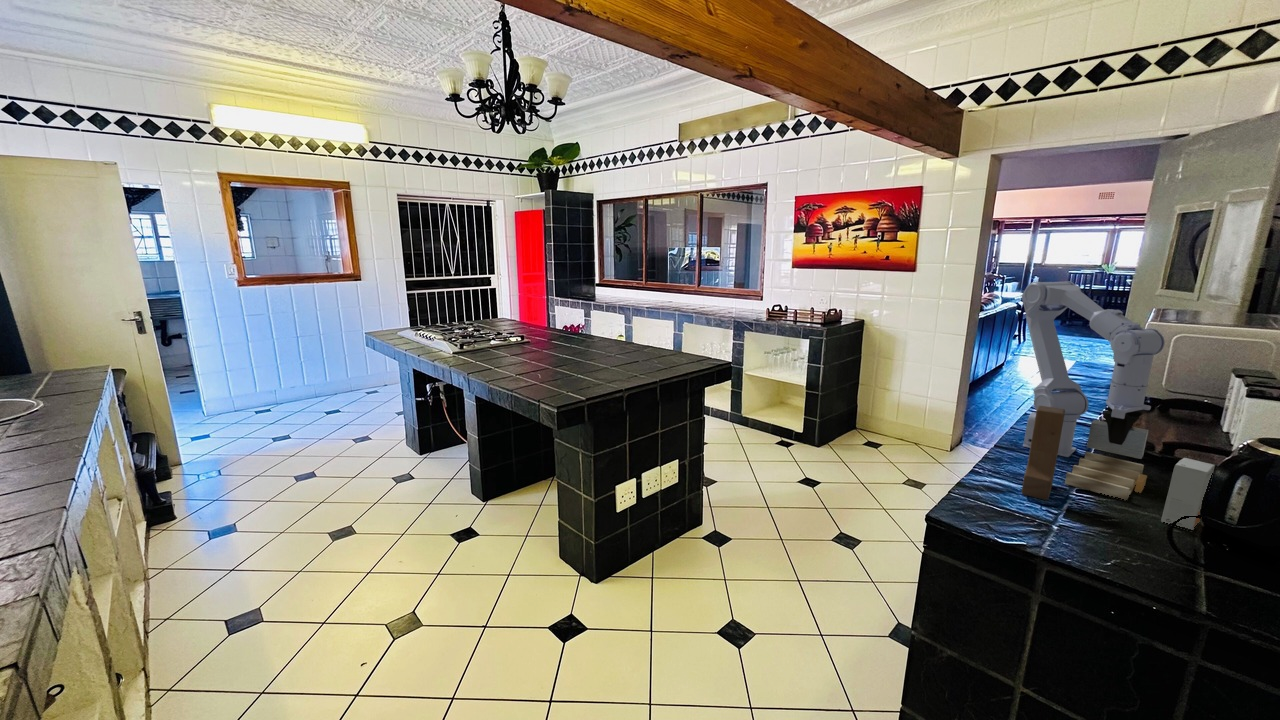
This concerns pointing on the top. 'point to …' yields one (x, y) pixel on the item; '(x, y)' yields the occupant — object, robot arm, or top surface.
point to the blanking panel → (1130, 446)
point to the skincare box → (1187, 492)
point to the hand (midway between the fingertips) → (1117, 441)
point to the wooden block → (1043, 452)
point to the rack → (1107, 475)
